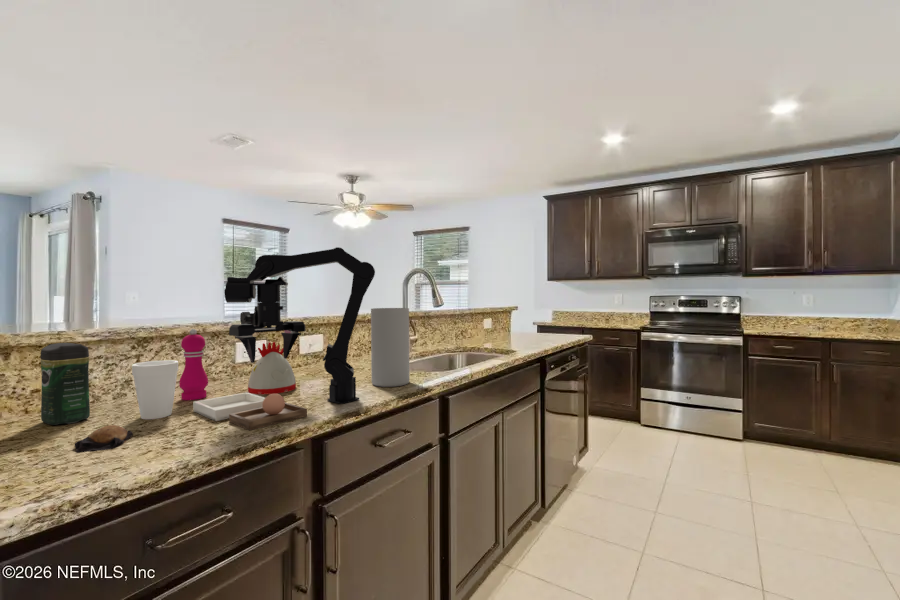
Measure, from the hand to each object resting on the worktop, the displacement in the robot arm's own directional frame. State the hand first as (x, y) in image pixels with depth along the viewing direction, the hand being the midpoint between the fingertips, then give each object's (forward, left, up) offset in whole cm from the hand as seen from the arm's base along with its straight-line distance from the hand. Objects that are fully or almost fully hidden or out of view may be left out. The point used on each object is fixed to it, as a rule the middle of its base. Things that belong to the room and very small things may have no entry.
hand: (269, 360), depth 115 cm
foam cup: (+23, -12, -12) cm, 29 cm away
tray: (+7, +13, -12) cm, 19 cm away
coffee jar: (+38, -24, -12) cm, 47 cm away
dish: (+9, -2, -12) cm, 15 cm away
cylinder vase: (-39, +5, -12) cm, 41 cm away
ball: (+7, +13, -11) cm, 18 cm away
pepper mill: (+10, -25, -12) cm, 30 cm away
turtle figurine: (+36, +2, -13) cm, 38 cm away
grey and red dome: (-10, -18, -12) cm, 24 cm away
